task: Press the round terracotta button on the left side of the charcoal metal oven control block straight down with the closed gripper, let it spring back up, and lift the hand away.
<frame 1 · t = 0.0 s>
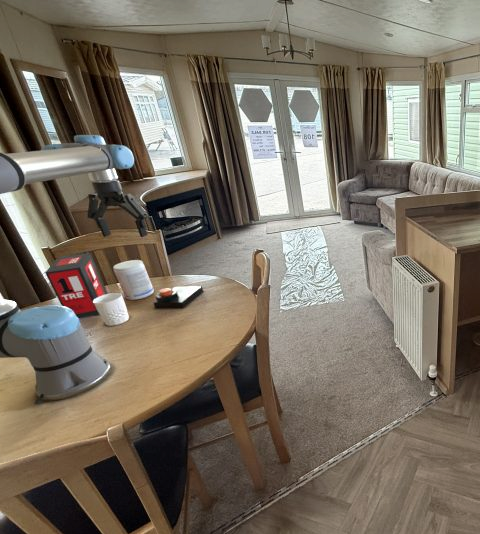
hand: (125, 235, 131), 28 cm above the table, tool pointing down, fingers open, 13 cm apart
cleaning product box: (90, 307, 135), on the table
oven button: (165, 292, 138), point 5 cm above the table, slide at 0.1 cm
supplement tub: (140, 295, 145), on the table
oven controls: (180, 299, 143), on the table
white cup: (117, 321, 127), on the table
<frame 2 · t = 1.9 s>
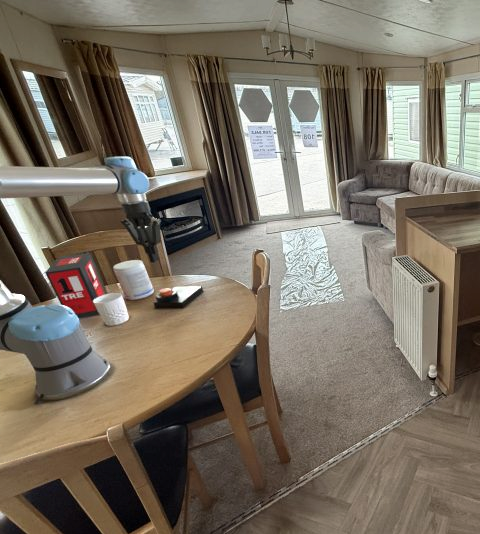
hand: (155, 260, 132), 19 cm above the table, tool pointing down, fingers closed
nothing on the table moved.
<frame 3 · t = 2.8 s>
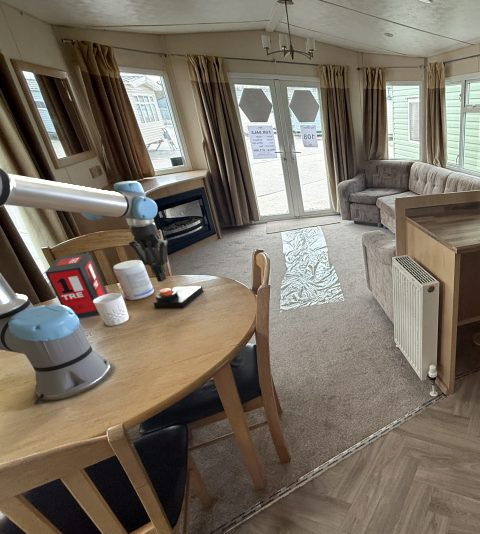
hand: (162, 280, 136), 11 cm above the table, tool pointing down, fingers closed
nothing on the table moved.
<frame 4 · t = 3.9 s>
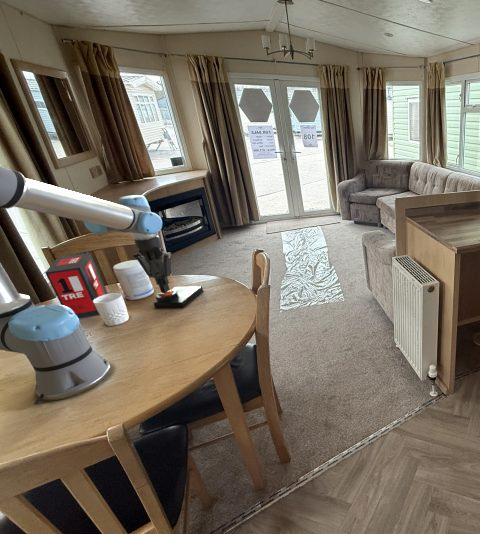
hand: (165, 291, 138), 6 cm above the table, tool pointing down, fingers closed
oven button: (166, 294, 138), point 4 cm above the table, slide at -0.7 cm, touching gripper
everything else where it was.
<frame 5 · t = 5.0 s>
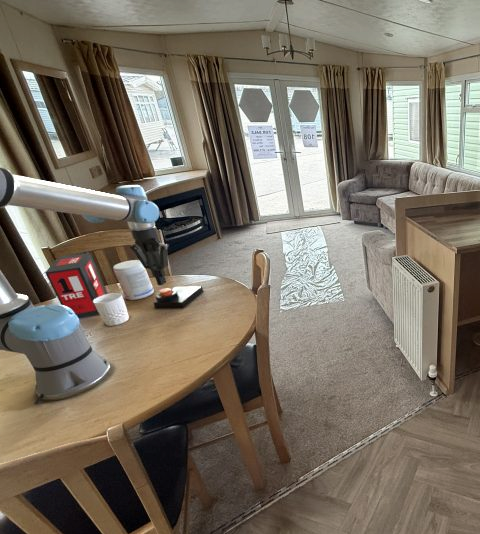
hand: (162, 283, 136), 9 cm above the table, tool pointing down, fingers closed
oven button: (165, 292, 138), point 5 cm above the table, slide at 0.1 cm
everything else where it was.
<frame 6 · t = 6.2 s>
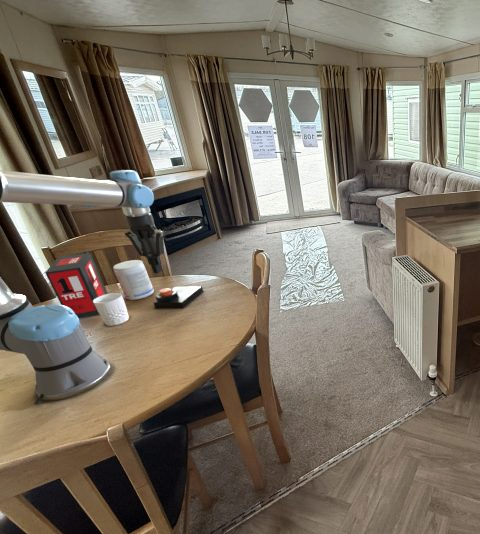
hand: (158, 271, 134), 15 cm above the table, tool pointing down, fingers closed
nothing on the table moved.
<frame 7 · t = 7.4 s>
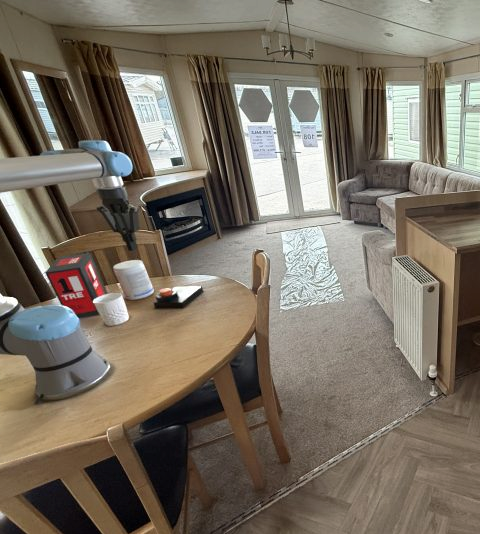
hand: (133, 249, 128), 24 cm above the table, tool pointing down, fingers closed
nothing on the table moved.
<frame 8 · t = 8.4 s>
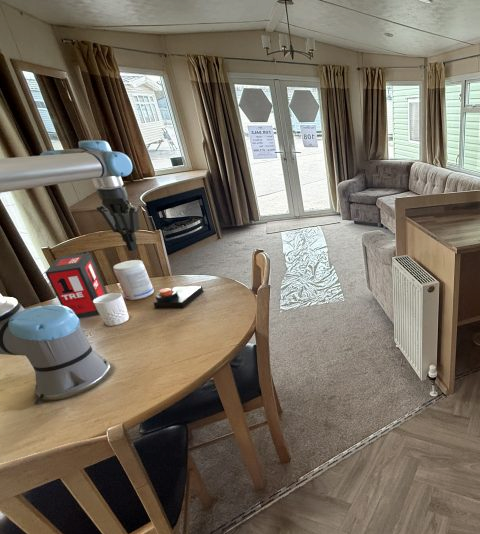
hand: (133, 249, 128), 24 cm above the table, tool pointing down, fingers closed
nothing on the table moved.
at the end: oven button pushed in 1.0 cm at the most during the clip, back to where it started at the end; oven button slide at 0.1 cm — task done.
